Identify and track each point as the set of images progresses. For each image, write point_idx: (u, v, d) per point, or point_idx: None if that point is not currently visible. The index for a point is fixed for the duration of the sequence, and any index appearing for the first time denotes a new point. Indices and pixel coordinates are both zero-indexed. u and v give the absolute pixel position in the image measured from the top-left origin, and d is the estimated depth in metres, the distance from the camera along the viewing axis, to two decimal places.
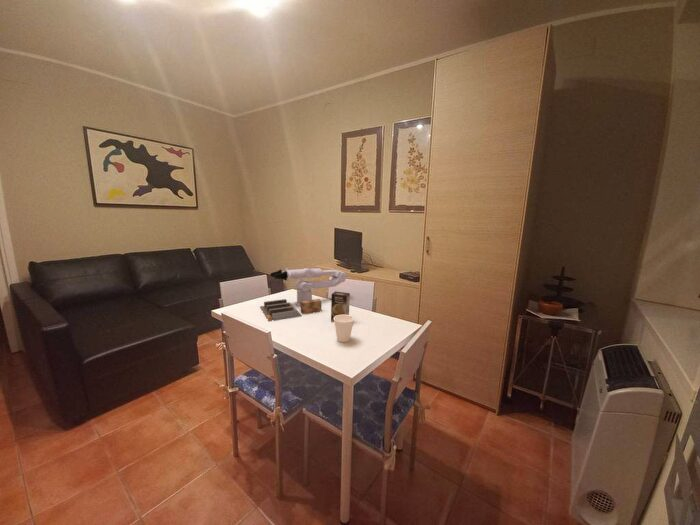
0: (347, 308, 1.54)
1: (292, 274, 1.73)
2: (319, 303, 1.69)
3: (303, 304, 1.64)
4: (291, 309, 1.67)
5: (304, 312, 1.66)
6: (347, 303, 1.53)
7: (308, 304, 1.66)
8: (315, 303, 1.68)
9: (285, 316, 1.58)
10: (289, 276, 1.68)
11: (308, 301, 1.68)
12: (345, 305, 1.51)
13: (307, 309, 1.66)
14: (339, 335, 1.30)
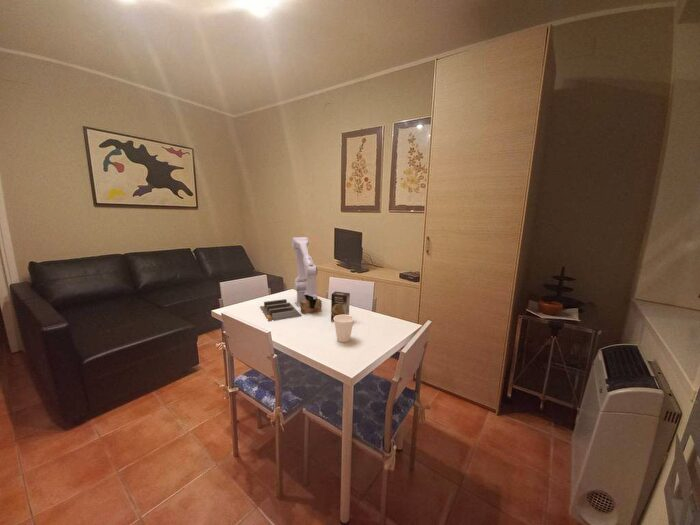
0: (347, 308, 1.54)
1: (312, 290, 1.65)
2: (319, 303, 1.69)
3: (303, 304, 1.65)
4: (291, 309, 1.67)
5: (304, 312, 1.66)
6: (347, 303, 1.53)
7: (308, 304, 1.66)
8: (315, 303, 1.68)
9: (285, 316, 1.58)
10: (315, 297, 1.61)
11: (308, 301, 1.68)
12: (345, 305, 1.51)
13: (306, 308, 1.66)
14: (339, 335, 1.30)
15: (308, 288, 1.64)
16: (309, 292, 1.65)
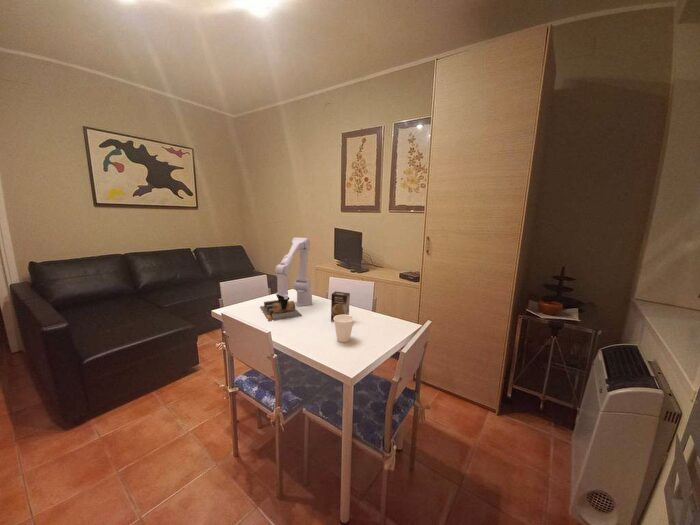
0: (347, 308, 1.54)
1: (283, 289, 1.57)
2: (292, 305, 1.62)
3: (275, 306, 1.57)
4: None
5: None
6: (347, 303, 1.53)
7: (280, 306, 1.58)
8: (288, 305, 1.61)
9: (285, 316, 1.58)
10: (286, 297, 1.54)
11: None
12: (345, 305, 1.51)
13: (279, 311, 1.59)
14: (339, 335, 1.30)
15: (279, 288, 1.57)
16: (280, 292, 1.57)
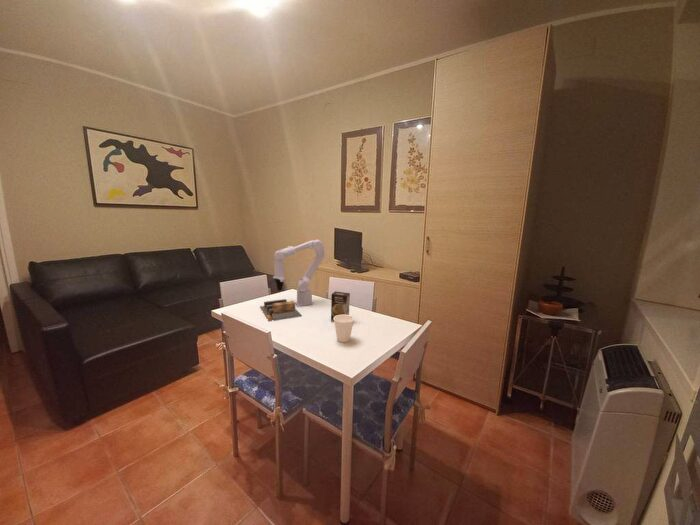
0: (347, 308, 1.54)
1: (279, 273, 1.74)
2: (292, 305, 1.62)
3: (275, 306, 1.57)
4: None
5: None
6: (347, 303, 1.53)
7: (280, 306, 1.58)
8: (288, 305, 1.61)
9: (285, 316, 1.58)
10: (282, 280, 1.71)
11: (281, 303, 1.60)
12: (345, 305, 1.51)
13: (279, 311, 1.59)
14: (339, 335, 1.30)
15: (276, 272, 1.74)
16: (277, 275, 1.74)
